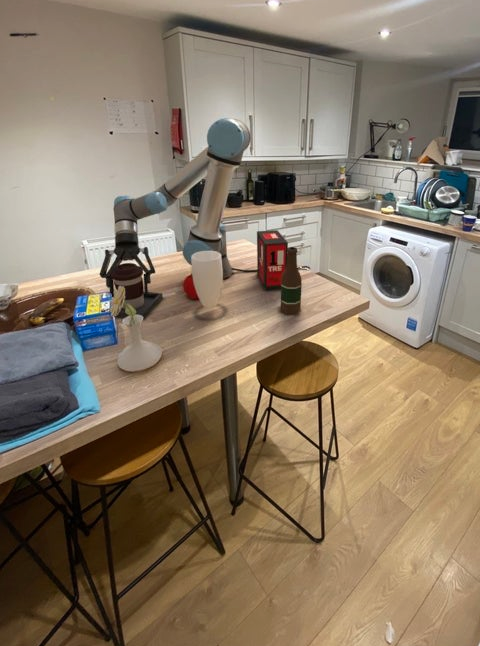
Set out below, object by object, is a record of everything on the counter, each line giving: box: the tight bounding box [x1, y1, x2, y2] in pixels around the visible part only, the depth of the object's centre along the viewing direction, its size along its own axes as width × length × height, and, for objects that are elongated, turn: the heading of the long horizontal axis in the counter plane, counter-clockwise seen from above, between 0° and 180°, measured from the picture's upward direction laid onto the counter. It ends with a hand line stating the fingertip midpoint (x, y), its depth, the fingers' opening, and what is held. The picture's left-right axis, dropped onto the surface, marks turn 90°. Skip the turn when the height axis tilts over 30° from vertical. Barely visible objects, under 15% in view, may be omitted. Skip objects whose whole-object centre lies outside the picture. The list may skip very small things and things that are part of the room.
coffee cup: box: [110, 262, 145, 309], centre depth 116 cm, size 10×10×15 cm
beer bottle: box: [280, 246, 303, 316], centre depth 118 cm, size 8×8×24 cm
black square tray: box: [114, 291, 164, 321], centre depth 119 cm, size 15×15×2 cm
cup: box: [191, 251, 224, 309], centre depth 114 cm, size 10×10×22 cm
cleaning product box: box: [256, 229, 289, 291], centre depth 140 cm, size 16×9×20 cm, turn 18°
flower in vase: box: [109, 286, 163, 372], centre depth 88 cm, size 13×11×25 cm
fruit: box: [182, 272, 199, 300], centre depth 127 cm, size 9×9×10 cm
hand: (129, 294), depth 115 cm, fingers closed on coffee cup, 10 cm apart
